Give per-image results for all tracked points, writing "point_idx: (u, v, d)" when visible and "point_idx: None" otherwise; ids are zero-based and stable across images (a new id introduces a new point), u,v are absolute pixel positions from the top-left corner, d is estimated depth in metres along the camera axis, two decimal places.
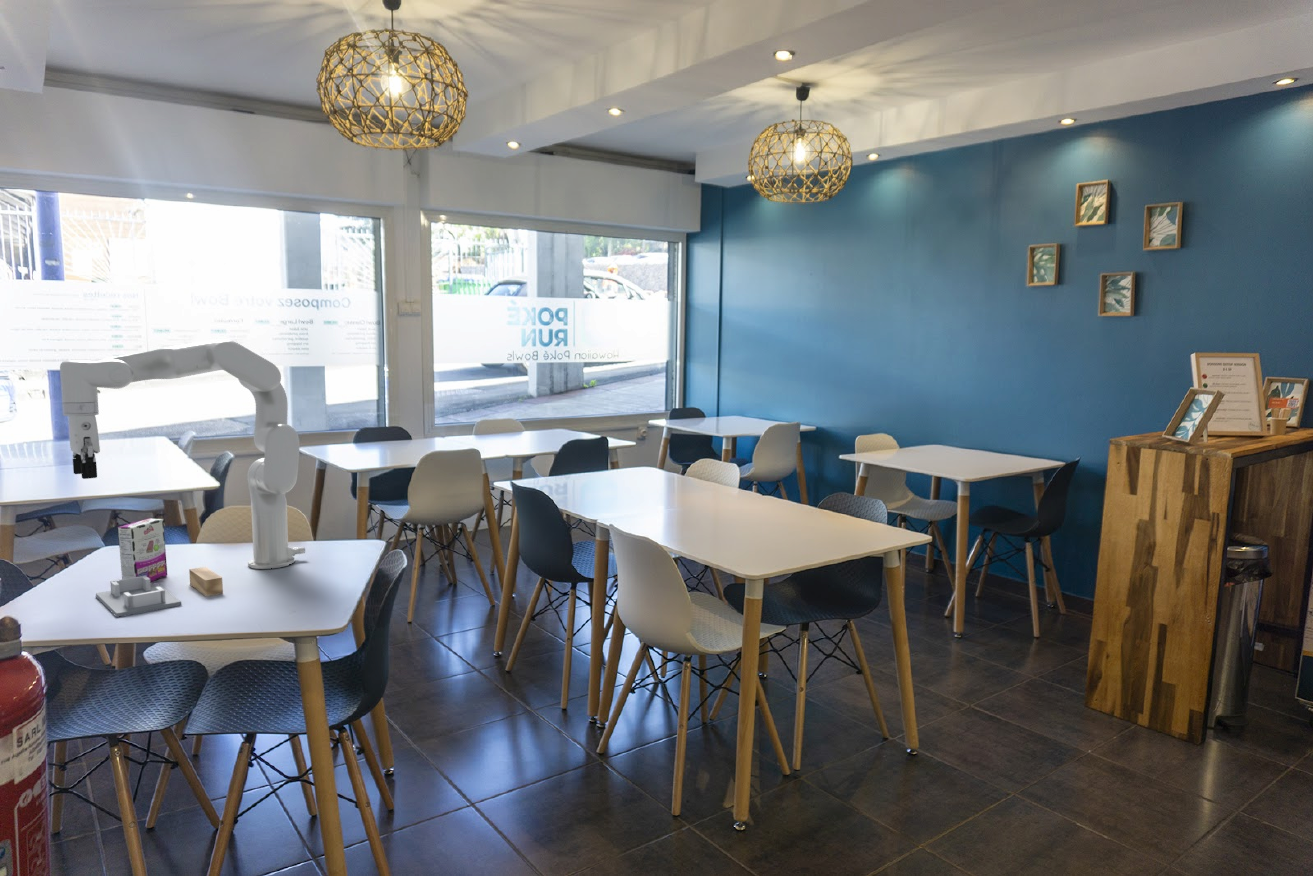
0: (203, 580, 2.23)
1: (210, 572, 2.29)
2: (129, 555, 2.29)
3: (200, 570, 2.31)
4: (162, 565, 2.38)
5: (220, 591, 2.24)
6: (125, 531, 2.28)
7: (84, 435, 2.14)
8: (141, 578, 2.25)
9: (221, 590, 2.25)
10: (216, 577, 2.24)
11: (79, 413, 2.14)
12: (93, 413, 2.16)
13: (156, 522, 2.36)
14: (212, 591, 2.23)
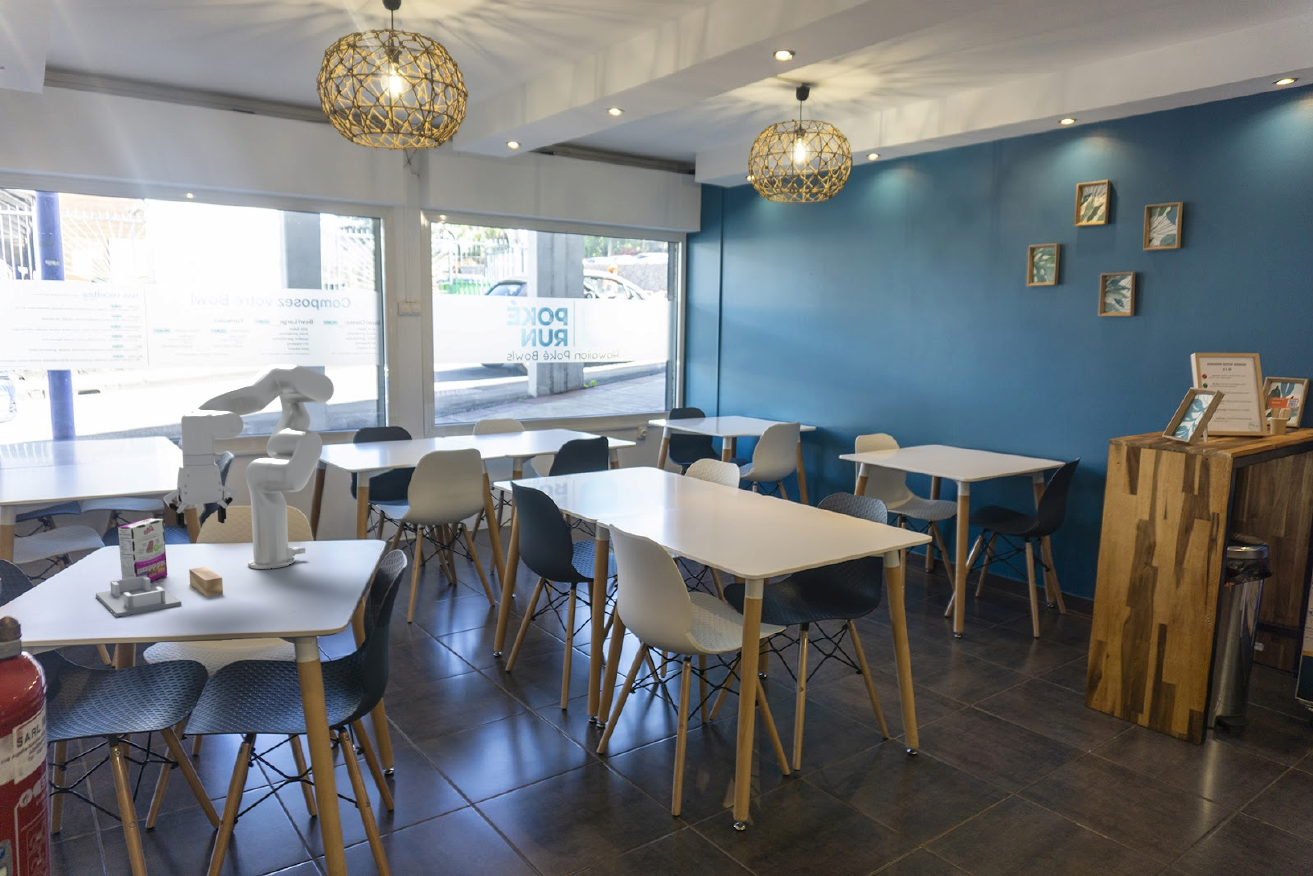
0: (203, 580, 2.23)
1: (210, 572, 2.29)
2: (129, 555, 2.29)
3: (200, 570, 2.31)
4: (162, 565, 2.38)
5: (220, 591, 2.24)
6: (125, 531, 2.28)
7: None
8: (141, 578, 2.25)
9: (221, 590, 2.25)
10: (216, 577, 2.24)
11: None
12: None
13: (156, 522, 2.36)
14: (212, 591, 2.23)
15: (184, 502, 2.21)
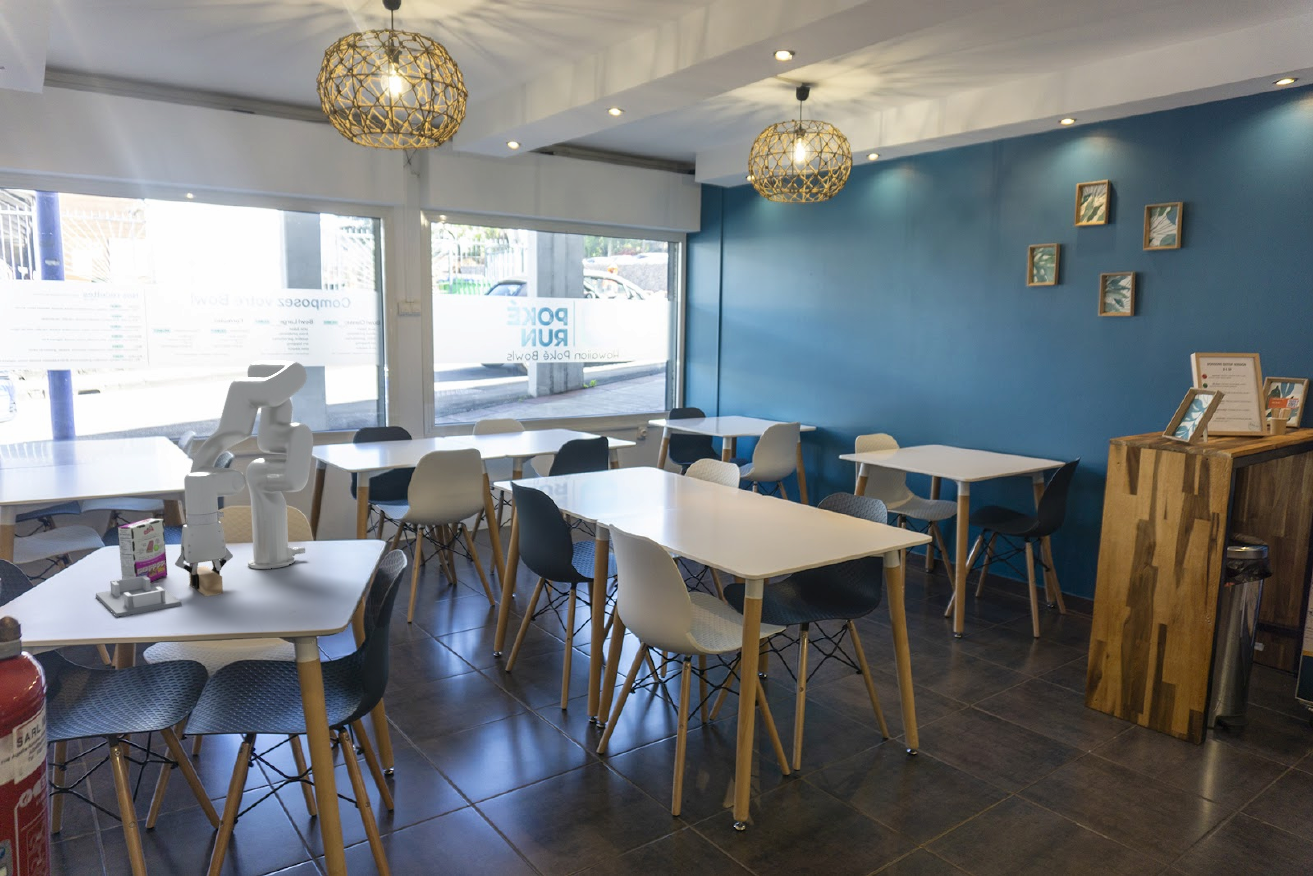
0: (203, 579, 2.23)
1: (210, 571, 2.29)
2: (129, 555, 2.29)
3: (200, 569, 2.31)
4: (162, 565, 2.38)
5: (220, 590, 2.24)
6: (125, 531, 2.28)
7: None
8: (141, 578, 2.25)
9: (221, 589, 2.25)
10: (216, 576, 2.24)
11: None
12: None
13: (156, 522, 2.36)
14: (212, 590, 2.23)
15: (188, 561, 2.23)
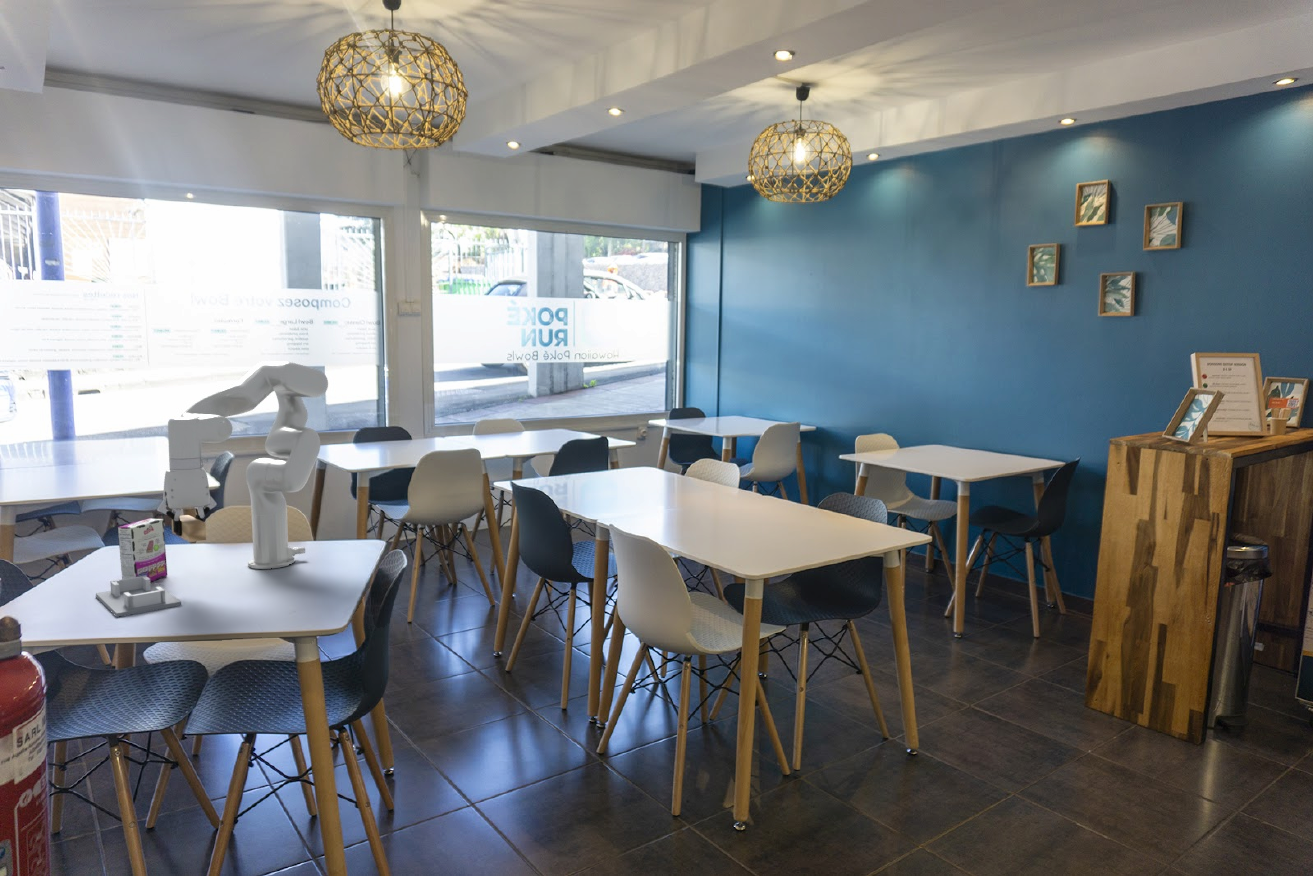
0: (186, 525, 2.19)
1: (193, 518, 2.25)
2: (129, 555, 2.29)
3: (183, 517, 2.26)
4: (162, 565, 2.38)
5: (203, 537, 2.20)
6: (125, 531, 2.28)
7: None
8: (141, 578, 2.25)
9: (204, 536, 2.20)
10: (199, 522, 2.20)
11: None
12: None
13: (156, 522, 2.36)
14: (195, 536, 2.19)
15: (171, 506, 2.19)
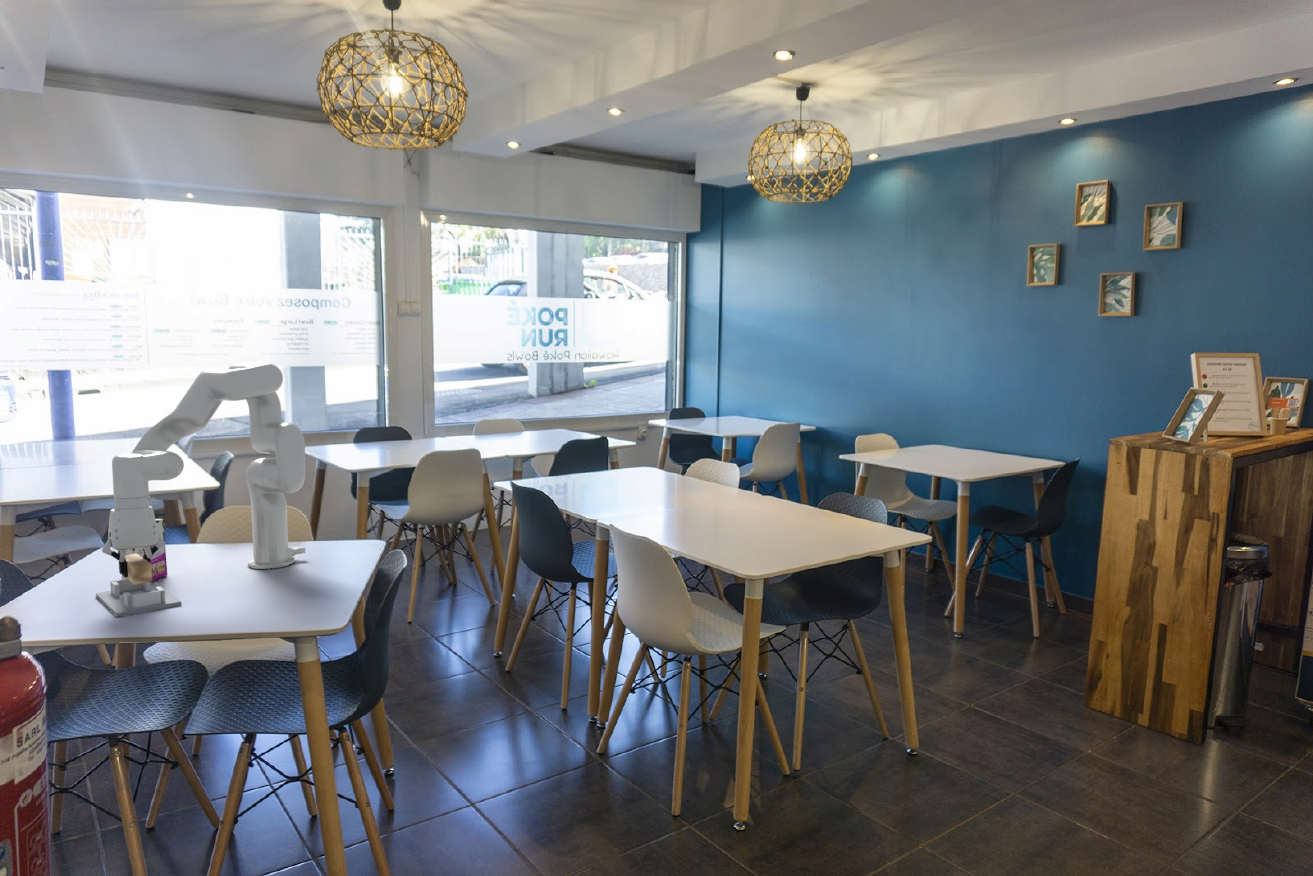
0: (131, 566, 2.11)
1: (140, 558, 2.17)
2: None
3: (130, 556, 2.19)
4: (162, 565, 2.38)
5: (149, 578, 2.12)
6: None
7: None
8: None
9: (150, 577, 2.13)
10: (145, 563, 2.12)
11: None
12: None
13: (156, 522, 2.36)
14: (140, 578, 2.11)
15: (115, 547, 2.11)
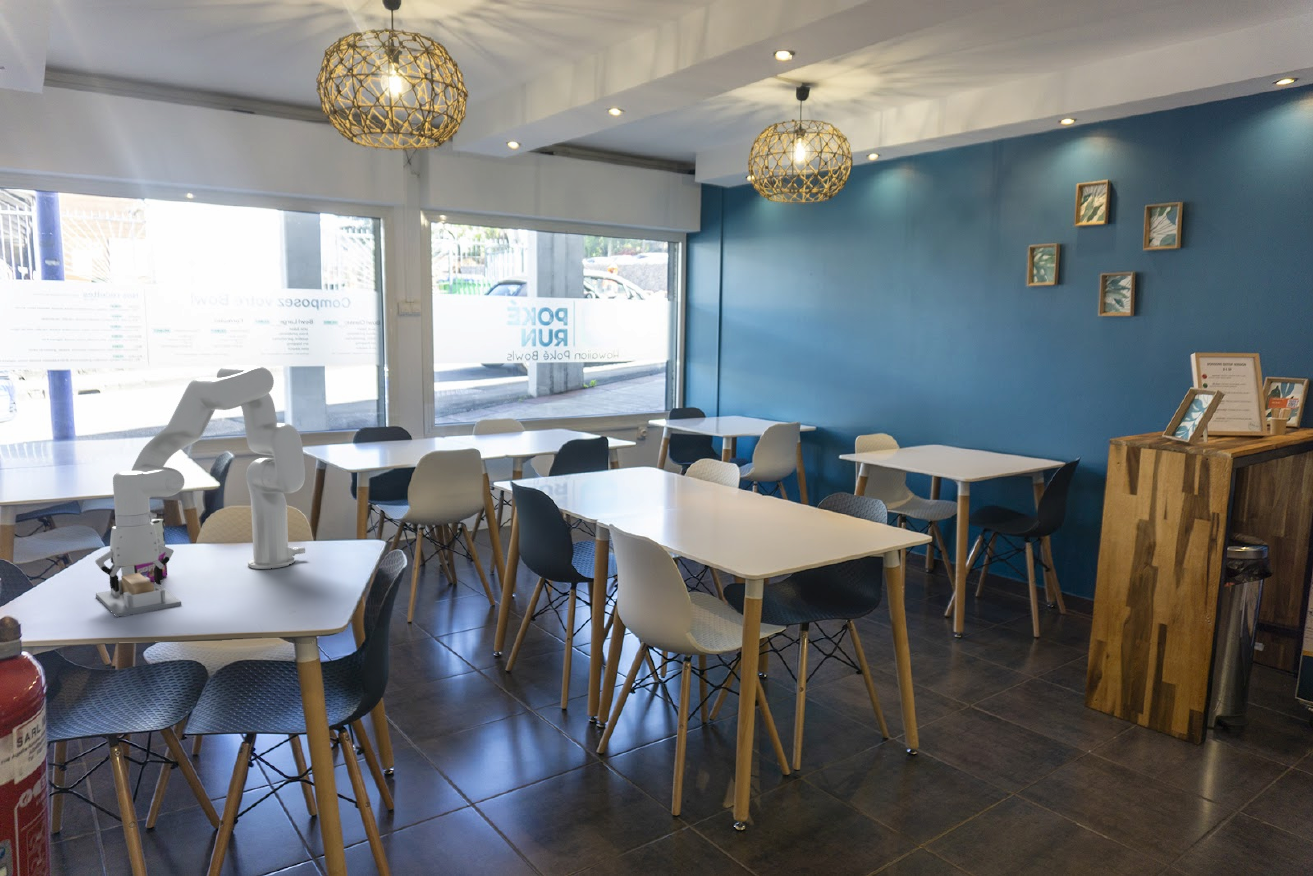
0: (133, 587, 2.12)
1: (142, 578, 2.18)
2: None
3: (132, 576, 2.20)
4: None
5: None
6: None
7: None
8: None
9: None
10: (147, 584, 2.13)
11: None
12: None
13: (156, 522, 2.36)
14: None
15: (117, 565, 2.12)
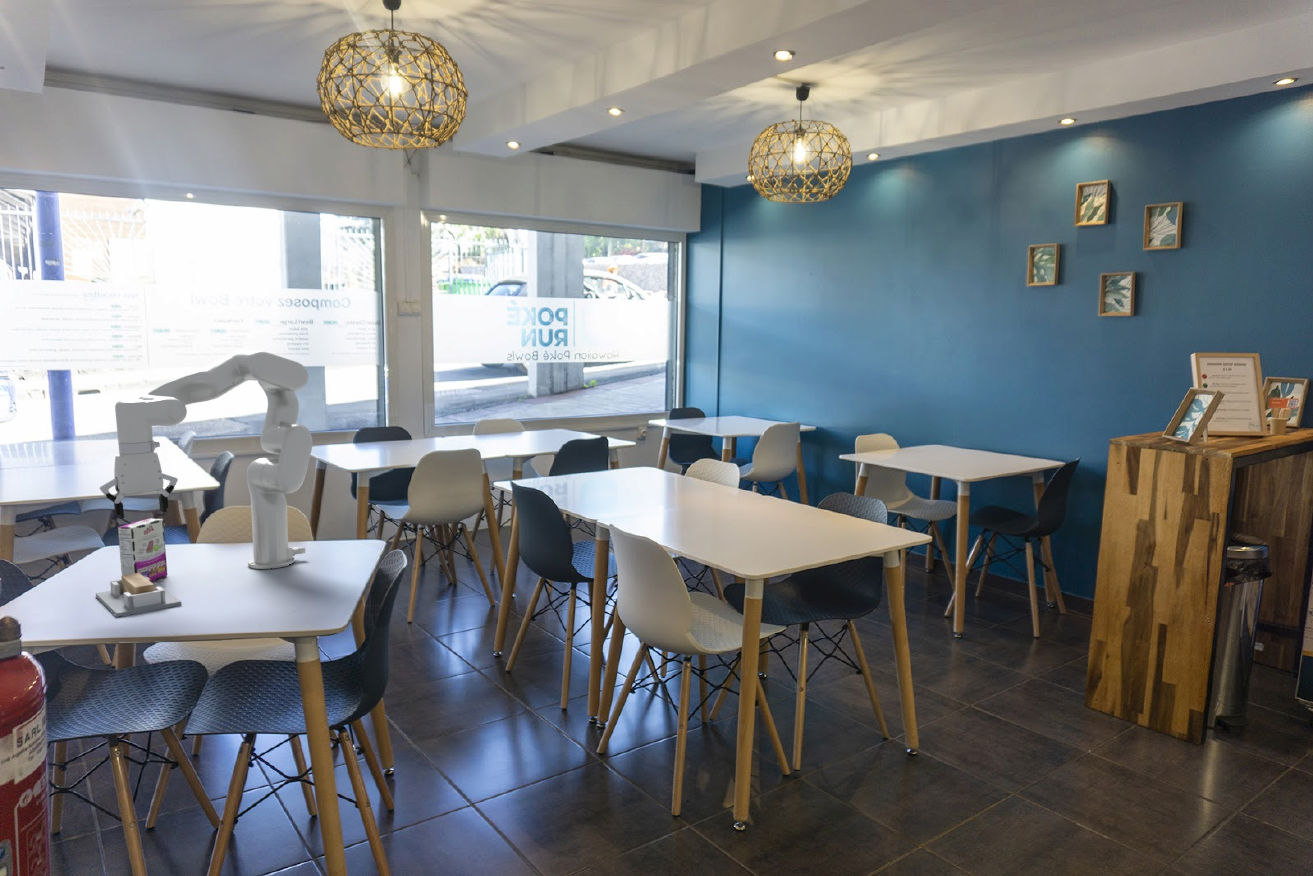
0: (133, 587, 2.12)
1: (142, 578, 2.18)
2: (129, 555, 2.29)
3: (132, 576, 2.20)
4: (162, 565, 2.38)
5: None
6: (125, 531, 2.28)
7: None
8: None
9: None
10: (147, 584, 2.13)
11: None
12: None
13: (156, 522, 2.36)
14: None
15: (122, 492, 2.14)
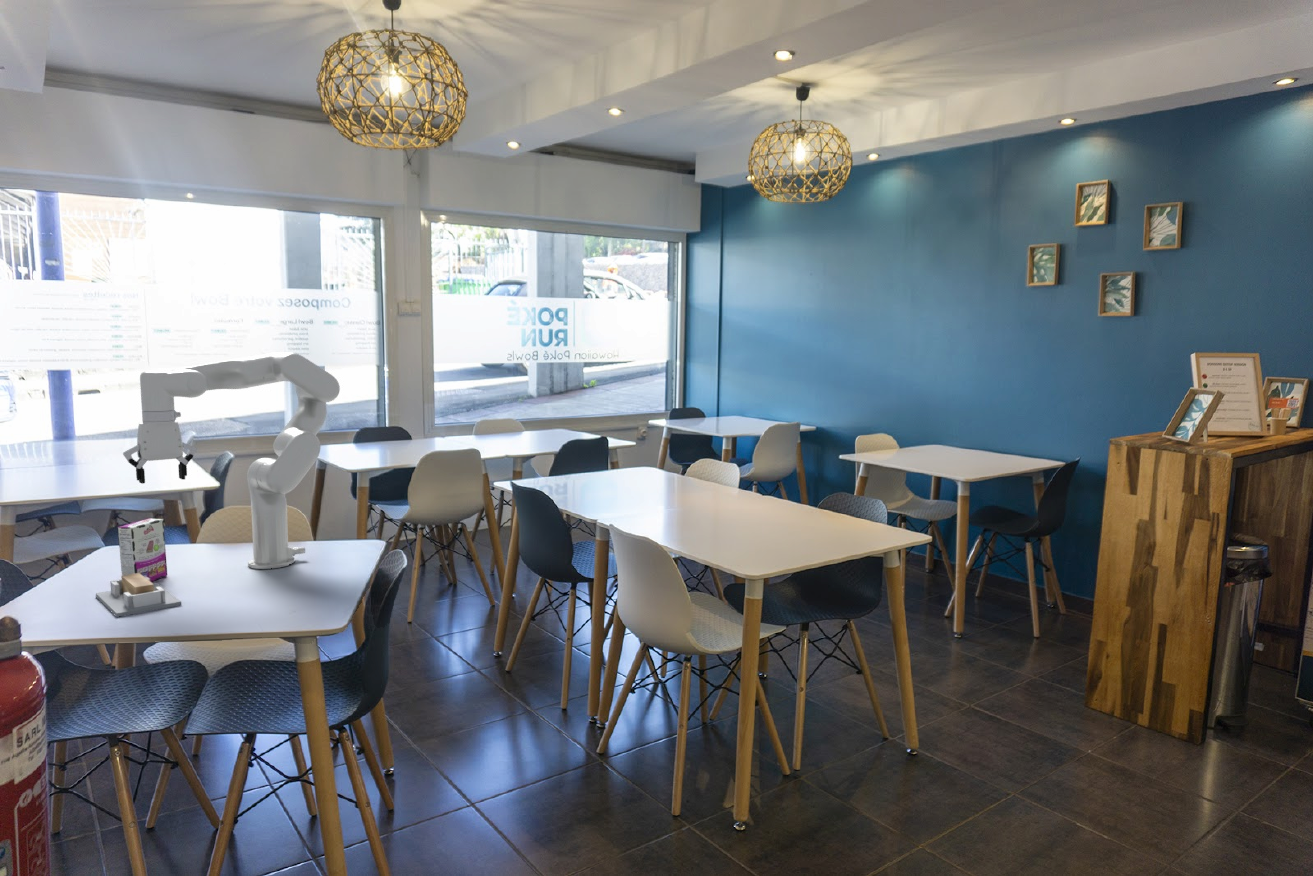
0: (133, 587, 2.12)
1: (142, 578, 2.18)
2: (129, 555, 2.29)
3: (132, 576, 2.20)
4: (162, 565, 2.38)
5: None
6: (125, 531, 2.28)
7: None
8: None
9: None
10: (147, 584, 2.13)
11: None
12: None
13: (156, 522, 2.36)
14: None
15: (144, 458, 2.25)
